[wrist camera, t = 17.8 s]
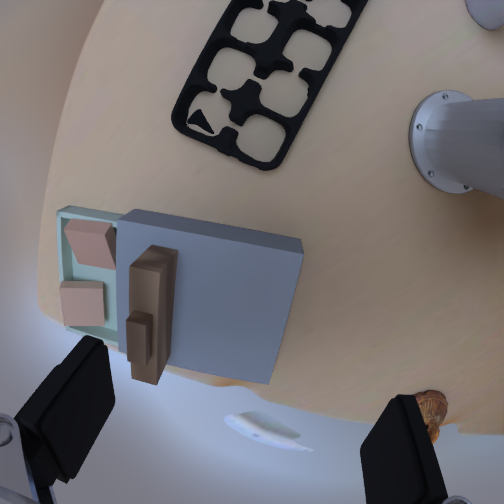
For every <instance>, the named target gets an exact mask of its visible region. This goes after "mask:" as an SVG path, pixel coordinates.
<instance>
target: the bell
mask: <svg viewBox="0 0 504 504" xmlns="http://www.w3.org/2000/svg"><path fill="white" fill-rule="evenodd" d="M414 396H415V397H416V400H417V402H418V405H419V408H420V410H421V413H422V416H423V419H424V422H425V425H426V428H427V430H428V433H429V436H430V438H431V441H432V444H433V443H434V442H435V441H436V440H437V438H438V436H439V431H440V430H439V427H438V426H439V425H440V424H441V423H442V422H443V420H444V418H445V416H446V414H447V408H448V403H447V401H446V397H445V396H444V395H443V394H442V393H440V392H438V391H433V390H428V391H426V392H424V393H417V394H414Z"/></svg>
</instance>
